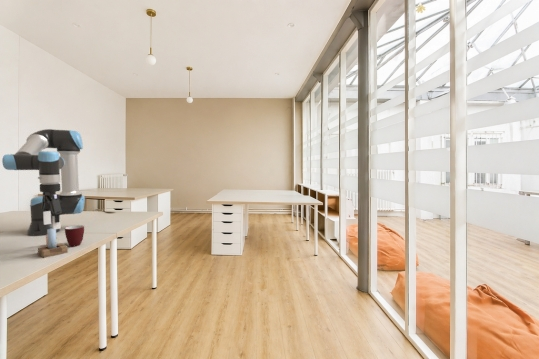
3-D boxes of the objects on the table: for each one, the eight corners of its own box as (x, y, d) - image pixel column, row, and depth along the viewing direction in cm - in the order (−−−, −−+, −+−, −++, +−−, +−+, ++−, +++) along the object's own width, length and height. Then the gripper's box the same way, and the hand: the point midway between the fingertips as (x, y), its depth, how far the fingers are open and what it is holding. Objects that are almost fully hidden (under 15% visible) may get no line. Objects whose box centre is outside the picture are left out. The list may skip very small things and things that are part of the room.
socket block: (37, 253, 121) (37, 247, 121) (61, 248, 129) (60, 243, 128) (43, 257, 116) (43, 251, 116) (67, 252, 124) (67, 246, 123)
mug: (64, 244, 136) (64, 226, 135) (83, 241, 142) (82, 223, 141) (66, 249, 128) (65, 229, 128) (85, 245, 134) (84, 227, 133)
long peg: (47, 253, 122) (46, 229, 121) (55, 251, 125) (54, 227, 124) (49, 254, 120) (48, 230, 119) (57, 252, 123) (56, 229, 122)
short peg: (45, 245, 133) (45, 234, 132) (53, 244, 136) (52, 233, 135) (47, 246, 131) (47, 235, 131) (55, 245, 134) (54, 234, 133)
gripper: (31, 181, 124) (34, 223, 126) (48, 186, 110) (50, 233, 112) (51, 181, 130) (53, 220, 132) (69, 184, 116) (71, 229, 118)
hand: (52, 226), depth 122 cm, fingers open, 13 cm apart
